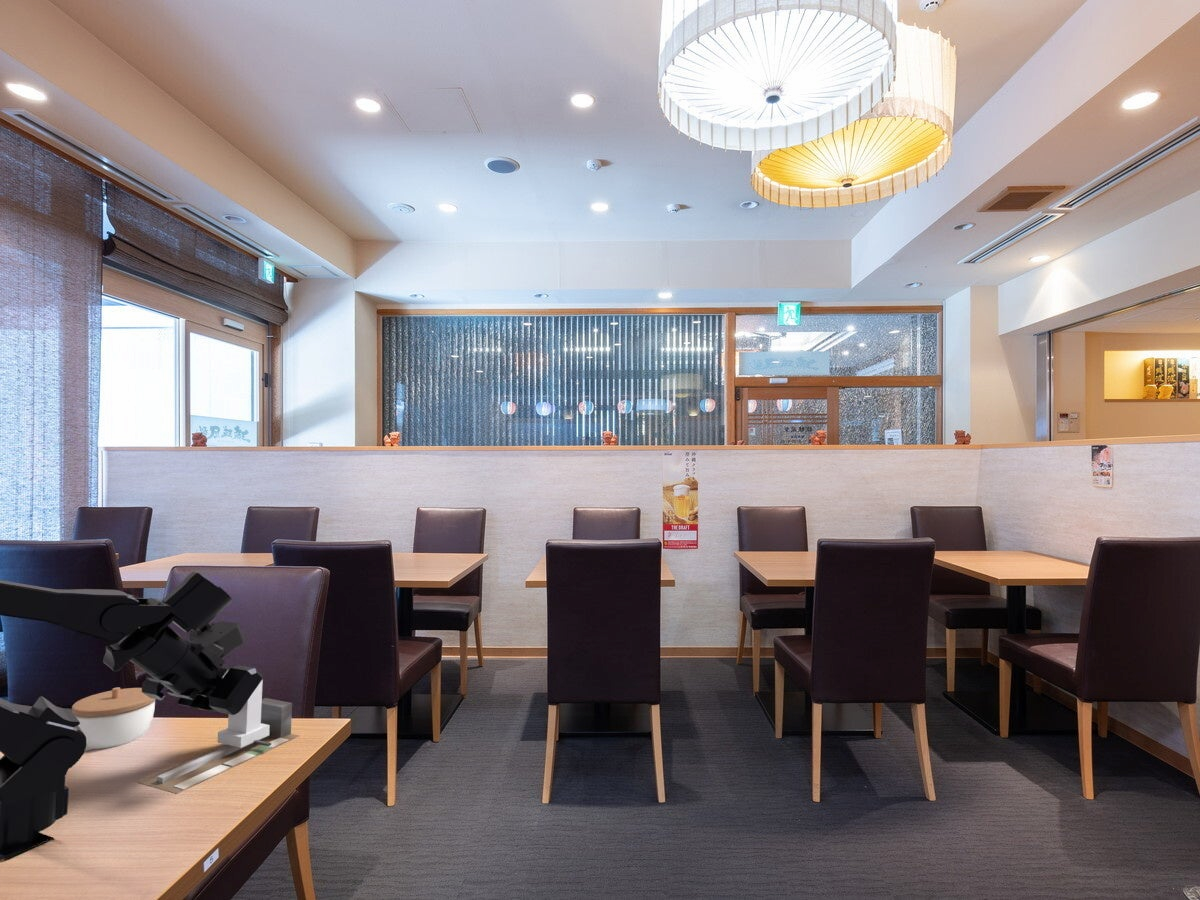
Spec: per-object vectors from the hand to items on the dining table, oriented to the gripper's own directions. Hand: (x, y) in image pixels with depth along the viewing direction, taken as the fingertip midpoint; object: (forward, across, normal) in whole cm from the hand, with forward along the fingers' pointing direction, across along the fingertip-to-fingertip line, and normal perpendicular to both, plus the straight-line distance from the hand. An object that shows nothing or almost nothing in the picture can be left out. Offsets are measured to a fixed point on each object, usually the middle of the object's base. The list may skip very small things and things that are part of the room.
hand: (236, 709), depth 93 cm
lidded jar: (+3, +22, +8) cm, 24 cm away
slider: (+5, -2, +3) cm, 6 cm away
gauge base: (+4, -1, +7) cm, 8 cm away
